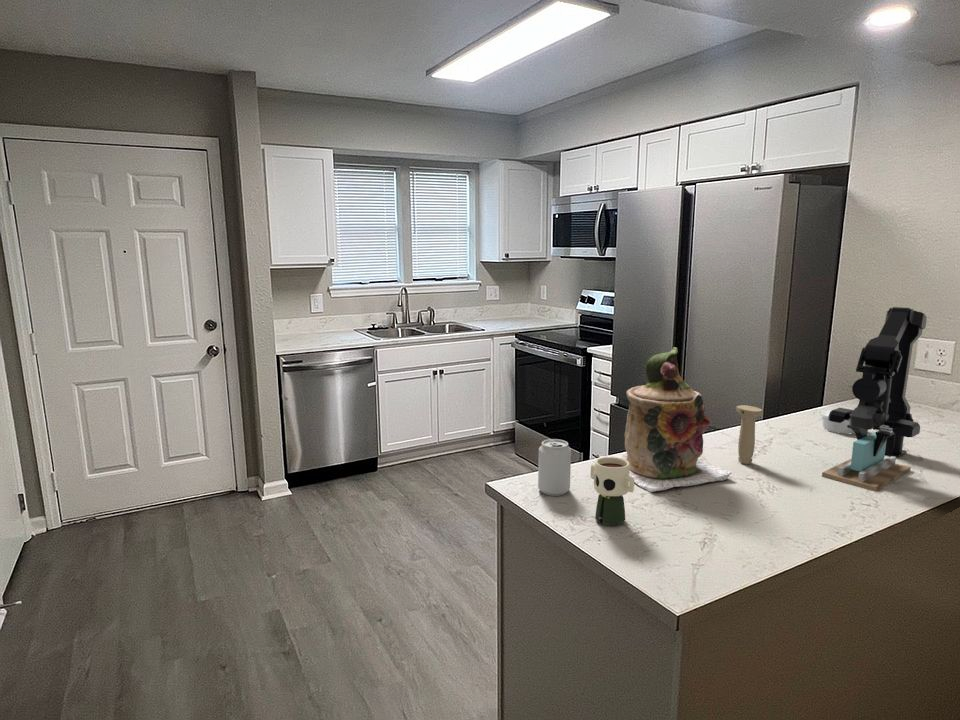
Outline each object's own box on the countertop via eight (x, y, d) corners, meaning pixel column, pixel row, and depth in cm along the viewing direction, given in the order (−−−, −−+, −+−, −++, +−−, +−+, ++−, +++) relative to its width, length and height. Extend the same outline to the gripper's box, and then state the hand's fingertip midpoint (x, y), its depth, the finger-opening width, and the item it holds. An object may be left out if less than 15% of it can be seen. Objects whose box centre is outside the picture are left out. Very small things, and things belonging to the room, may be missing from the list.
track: (859, 458, 166) (860, 447, 165) (910, 470, 156) (911, 459, 156) (821, 476, 153) (823, 464, 152) (875, 491, 143) (876, 478, 143)
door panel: (873, 457, 159) (876, 431, 158) (884, 459, 157) (887, 433, 156) (850, 469, 151) (853, 442, 150) (861, 471, 149) (864, 444, 148)
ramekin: (811, 427, 194) (813, 411, 193) (835, 423, 199) (836, 408, 198) (845, 437, 184) (847, 420, 183) (868, 432, 189) (870, 416, 188)
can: (549, 499, 139) (550, 449, 137) (532, 488, 145) (532, 440, 143) (576, 493, 142) (577, 444, 140) (558, 482, 149) (559, 435, 147)
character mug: (579, 517, 130) (580, 459, 127) (600, 508, 134) (602, 452, 132) (620, 535, 121) (623, 473, 119) (642, 525, 126) (644, 465, 124)
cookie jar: (595, 462, 164) (598, 344, 158) (669, 450, 173) (675, 339, 167) (653, 496, 141) (660, 360, 135) (735, 480, 150) (745, 353, 144)
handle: (749, 468, 159) (753, 412, 156) (728, 460, 164) (732, 406, 161) (761, 464, 161) (766, 409, 158) (740, 457, 166) (744, 404, 164)
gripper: (821, 392, 153) (815, 451, 156) (906, 407, 139) (898, 472, 141) (841, 386, 160) (835, 443, 163) (924, 399, 145) (916, 462, 148)
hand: (868, 454), depth 154 cm, fingers closed on door panel, 2 cm apart
